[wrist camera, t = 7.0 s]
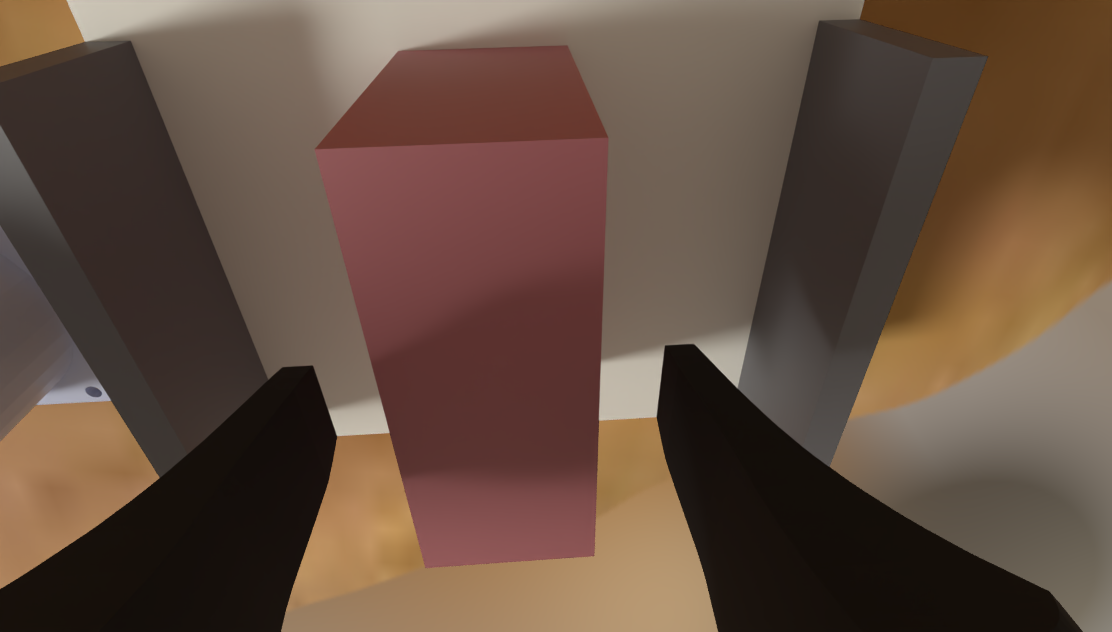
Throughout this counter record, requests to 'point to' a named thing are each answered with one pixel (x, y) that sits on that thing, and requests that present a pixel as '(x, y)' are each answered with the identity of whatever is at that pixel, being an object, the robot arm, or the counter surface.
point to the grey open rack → (631, 204)
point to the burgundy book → (480, 291)
